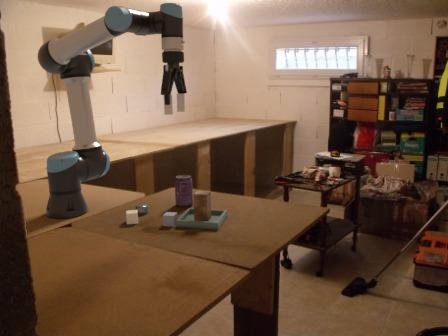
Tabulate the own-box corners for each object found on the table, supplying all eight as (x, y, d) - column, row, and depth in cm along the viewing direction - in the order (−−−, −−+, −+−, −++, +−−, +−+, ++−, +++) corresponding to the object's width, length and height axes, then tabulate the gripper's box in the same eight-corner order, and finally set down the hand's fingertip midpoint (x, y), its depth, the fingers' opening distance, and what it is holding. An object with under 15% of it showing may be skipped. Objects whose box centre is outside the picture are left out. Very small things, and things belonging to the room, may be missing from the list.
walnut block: (194, 221, 154) (193, 194, 152) (197, 216, 159) (197, 190, 157) (207, 221, 153) (207, 194, 151) (211, 217, 158) (210, 191, 156)
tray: (176, 227, 151) (176, 220, 150) (189, 214, 165) (188, 208, 165) (218, 229, 148) (218, 223, 147) (227, 216, 162) (227, 210, 161)
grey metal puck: (133, 214, 166) (132, 207, 165) (138, 211, 171) (138, 203, 170) (145, 215, 165) (145, 207, 164) (150, 211, 170) (150, 204, 169)
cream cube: (126, 224, 155) (126, 213, 154) (126, 221, 159) (126, 210, 158) (138, 223, 155) (137, 213, 155) (138, 220, 159) (137, 209, 159)
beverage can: (184, 201, 182) (183, 173, 180) (196, 204, 178) (195, 176, 175) (172, 205, 177) (170, 176, 174) (184, 208, 172) (183, 179, 170)
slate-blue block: (163, 226, 152) (162, 215, 152) (167, 222, 156) (166, 211, 155) (174, 226, 152) (173, 215, 151) (177, 223, 155) (177, 212, 155)
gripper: (171, 48, 137) (173, 115, 141) (193, 52, 161) (195, 110, 165) (148, 49, 138) (152, 115, 143) (174, 53, 162) (176, 110, 166)
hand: (175, 113), depth 154 cm, fingers open, 13 cm apart
